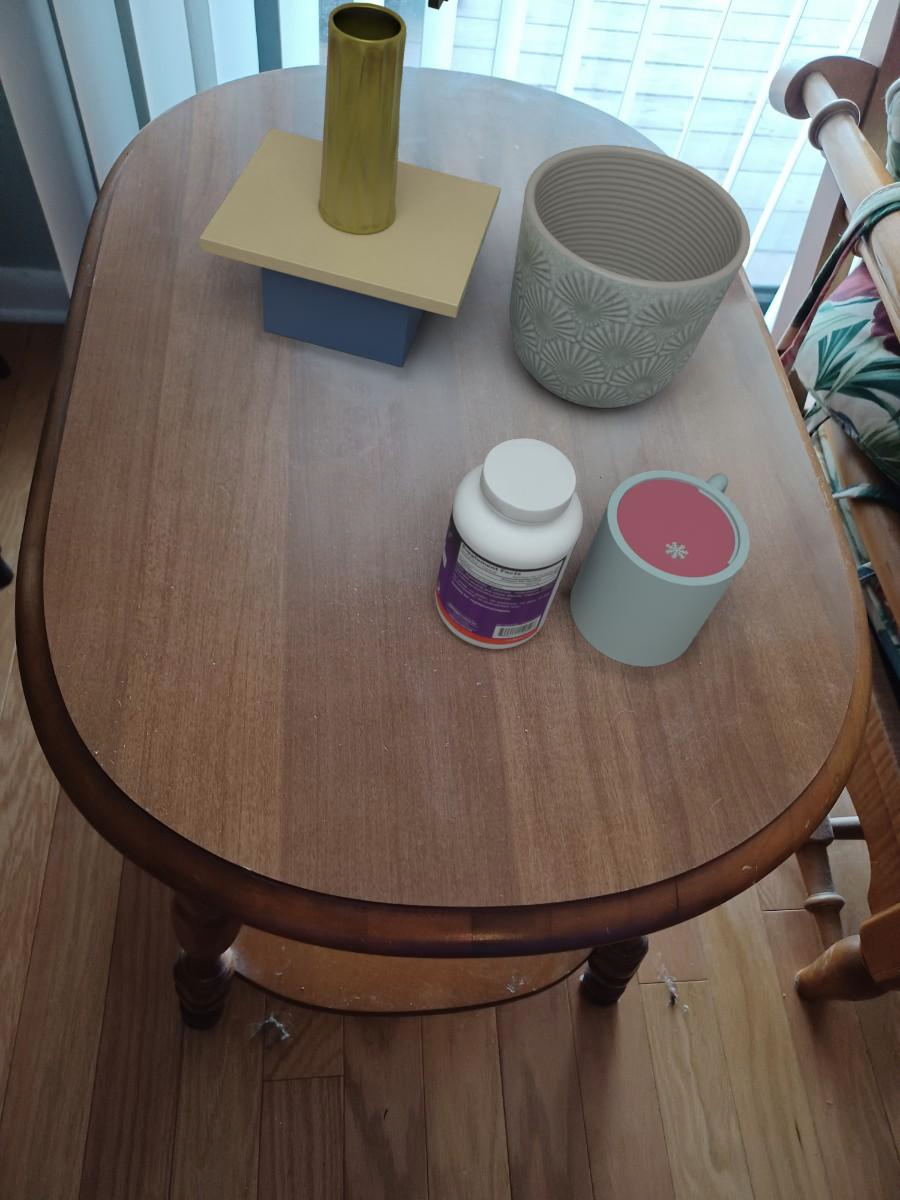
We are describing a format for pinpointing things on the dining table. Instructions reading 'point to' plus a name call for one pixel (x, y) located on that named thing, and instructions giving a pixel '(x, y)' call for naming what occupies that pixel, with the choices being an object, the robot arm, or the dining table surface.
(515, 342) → the planter
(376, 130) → the vase
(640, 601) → the mug
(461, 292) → the box
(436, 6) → the robot arm
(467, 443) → the dining table surface
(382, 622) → the dining table surface
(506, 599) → the pill bottle
